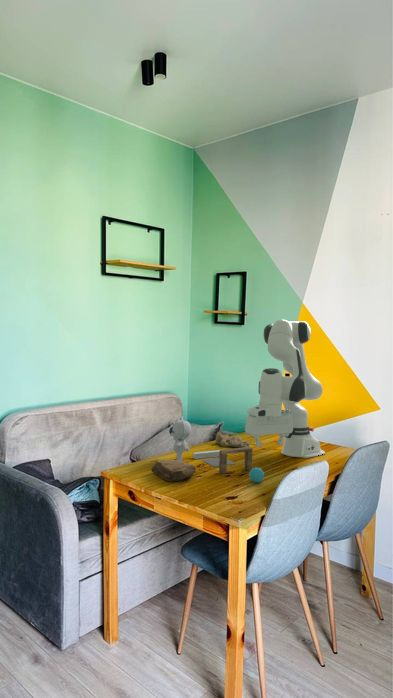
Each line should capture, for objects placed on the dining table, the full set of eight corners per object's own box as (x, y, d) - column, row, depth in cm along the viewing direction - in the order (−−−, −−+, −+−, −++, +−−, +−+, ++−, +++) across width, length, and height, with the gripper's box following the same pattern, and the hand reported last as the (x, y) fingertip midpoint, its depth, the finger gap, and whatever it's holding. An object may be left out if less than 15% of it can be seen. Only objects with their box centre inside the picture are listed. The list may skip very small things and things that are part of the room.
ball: (258, 479, 196) (258, 465, 196) (266, 483, 191) (267, 468, 191) (246, 480, 194) (246, 466, 193) (254, 485, 188) (254, 470, 188)
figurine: (224, 431, 264) (255, 435, 252) (223, 444, 264) (254, 449, 252) (212, 431, 255) (243, 436, 243) (210, 445, 254) (242, 451, 242)
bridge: (219, 472, 205) (219, 450, 205) (248, 468, 212) (248, 447, 211) (222, 474, 202) (222, 451, 202) (251, 470, 209) (252, 448, 209)
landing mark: (223, 457, 229) (223, 457, 229) (236, 464, 218) (236, 463, 218) (201, 460, 224) (201, 459, 224) (213, 466, 213) (213, 466, 213)
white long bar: (221, 454, 235) (222, 449, 235) (224, 455, 232) (224, 450, 232) (193, 457, 228) (193, 452, 228) (195, 459, 225) (195, 453, 225)
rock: (204, 467, 198) (183, 469, 186) (200, 483, 198) (180, 486, 186) (167, 455, 210) (146, 456, 197) (164, 471, 209) (143, 473, 197)
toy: (168, 456, 230) (169, 415, 229) (189, 456, 231) (190, 415, 230) (169, 465, 213) (170, 422, 212) (192, 465, 214) (193, 422, 213)
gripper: (287, 408, 191) (286, 442, 191) (243, 409, 183) (242, 445, 183) (297, 410, 185) (295, 445, 186) (252, 412, 177) (251, 449, 177)
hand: (269, 445), depth 184 cm, fingers open, 8 cm apart
